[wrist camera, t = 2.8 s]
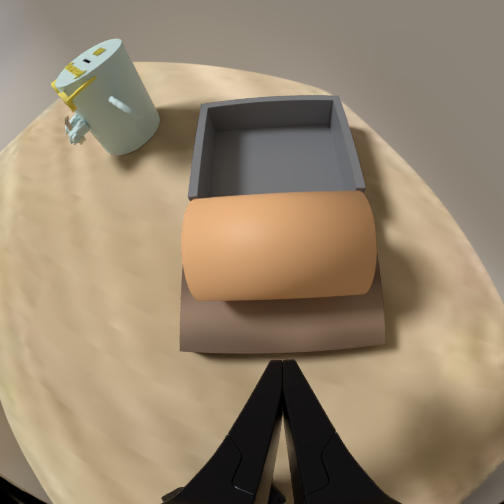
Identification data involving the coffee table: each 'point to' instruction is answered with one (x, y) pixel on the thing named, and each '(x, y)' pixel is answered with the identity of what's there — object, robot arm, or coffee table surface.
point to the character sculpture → (107, 99)
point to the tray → (273, 147)
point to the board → (282, 323)
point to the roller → (279, 246)
